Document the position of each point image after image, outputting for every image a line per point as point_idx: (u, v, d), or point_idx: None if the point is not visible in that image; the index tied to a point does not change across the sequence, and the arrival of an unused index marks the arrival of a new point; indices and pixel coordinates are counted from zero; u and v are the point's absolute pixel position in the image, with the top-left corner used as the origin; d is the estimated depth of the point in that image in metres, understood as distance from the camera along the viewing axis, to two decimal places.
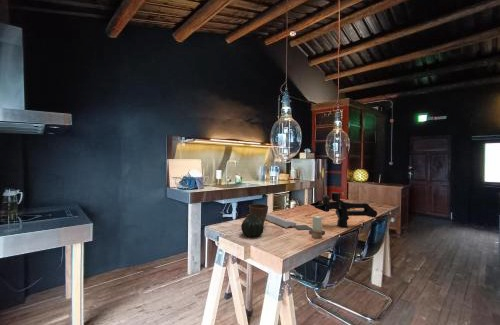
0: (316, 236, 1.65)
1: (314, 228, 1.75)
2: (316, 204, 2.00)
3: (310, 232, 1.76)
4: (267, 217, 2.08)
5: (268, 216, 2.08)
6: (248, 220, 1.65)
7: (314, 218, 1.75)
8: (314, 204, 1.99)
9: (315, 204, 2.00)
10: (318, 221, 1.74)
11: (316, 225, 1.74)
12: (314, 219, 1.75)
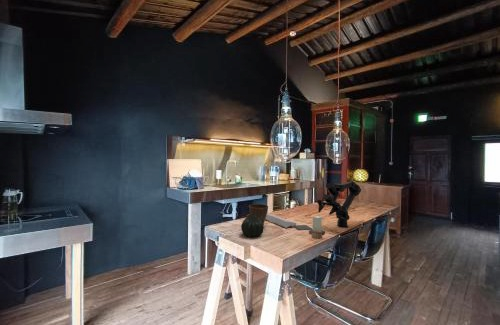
0: (316, 236, 1.65)
1: (314, 228, 1.75)
2: (321, 206, 1.88)
3: (310, 232, 1.76)
4: (267, 217, 2.08)
5: (268, 216, 2.08)
6: (248, 220, 1.65)
7: (314, 218, 1.75)
8: (320, 208, 1.87)
9: (321, 207, 1.87)
10: (318, 221, 1.74)
11: (316, 225, 1.74)
12: (314, 219, 1.75)
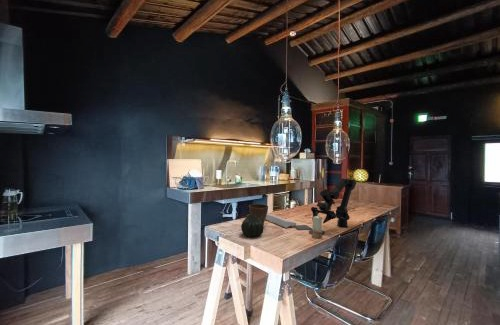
0: (316, 236, 1.66)
1: (314, 228, 1.75)
2: (315, 214, 1.83)
3: (310, 232, 1.76)
4: (267, 217, 2.08)
5: (268, 216, 2.08)
6: (248, 220, 1.65)
7: (314, 218, 1.75)
8: (314, 216, 1.82)
9: (315, 215, 1.83)
10: (318, 221, 1.74)
11: (316, 225, 1.74)
12: (314, 219, 1.75)
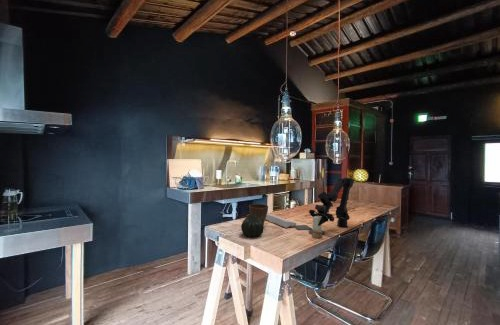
0: (316, 236, 1.66)
1: (314, 228, 1.75)
2: None
3: (310, 232, 1.76)
4: (267, 217, 2.08)
5: (268, 216, 2.08)
6: (248, 220, 1.65)
7: (314, 218, 1.75)
8: None
9: None
10: (318, 221, 1.74)
11: (316, 225, 1.74)
12: (314, 219, 1.75)
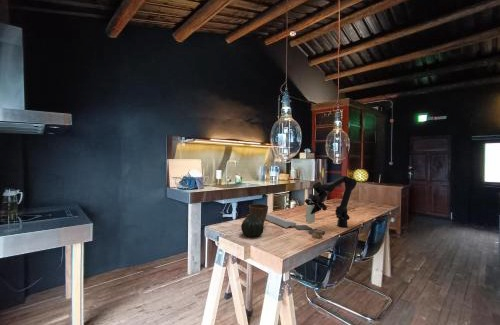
0: (316, 236, 1.66)
1: (307, 216, 1.81)
2: None
3: (310, 232, 1.76)
4: (267, 217, 2.08)
5: (268, 216, 2.08)
6: (248, 220, 1.65)
7: (307, 207, 1.81)
8: None
9: None
10: (310, 209, 1.79)
11: (308, 213, 1.79)
12: (307, 208, 1.81)
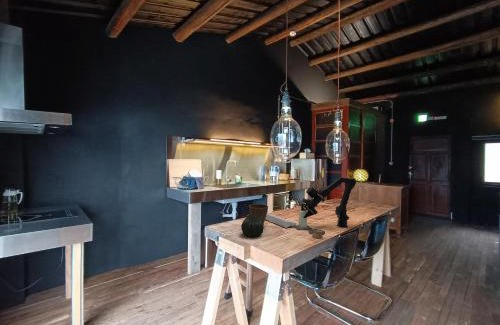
0: (317, 236, 1.66)
1: (299, 221, 1.90)
2: (303, 210, 1.95)
3: (310, 232, 1.76)
4: (267, 217, 2.08)
5: (268, 216, 2.08)
6: (248, 220, 1.65)
7: (299, 212, 1.90)
8: None
9: (302, 210, 1.95)
10: (301, 215, 1.87)
11: (300, 218, 1.88)
12: (299, 213, 1.90)
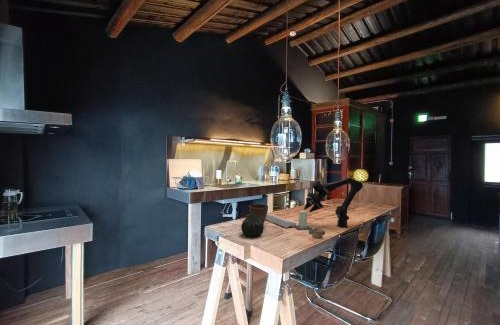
0: (317, 236, 1.66)
1: (299, 221, 1.90)
2: (308, 204, 1.96)
3: (310, 232, 1.76)
4: (267, 217, 2.08)
5: (268, 216, 2.08)
6: (248, 220, 1.65)
7: (299, 212, 1.90)
8: (307, 206, 1.95)
9: (308, 204, 1.96)
10: (301, 215, 1.87)
11: (300, 218, 1.88)
12: (299, 213, 1.90)
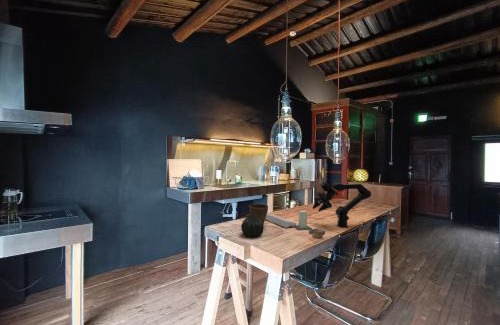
0: (317, 236, 1.66)
1: (299, 221, 1.90)
2: (317, 204, 1.98)
3: (310, 232, 1.76)
4: (267, 217, 2.08)
5: (268, 216, 2.08)
6: (248, 220, 1.65)
7: (299, 212, 1.90)
8: (315, 205, 1.98)
9: (316, 204, 1.98)
10: (301, 215, 1.87)
11: (300, 218, 1.88)
12: (299, 213, 1.90)
